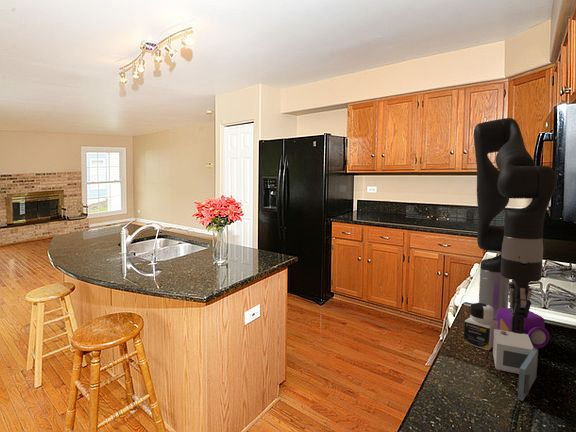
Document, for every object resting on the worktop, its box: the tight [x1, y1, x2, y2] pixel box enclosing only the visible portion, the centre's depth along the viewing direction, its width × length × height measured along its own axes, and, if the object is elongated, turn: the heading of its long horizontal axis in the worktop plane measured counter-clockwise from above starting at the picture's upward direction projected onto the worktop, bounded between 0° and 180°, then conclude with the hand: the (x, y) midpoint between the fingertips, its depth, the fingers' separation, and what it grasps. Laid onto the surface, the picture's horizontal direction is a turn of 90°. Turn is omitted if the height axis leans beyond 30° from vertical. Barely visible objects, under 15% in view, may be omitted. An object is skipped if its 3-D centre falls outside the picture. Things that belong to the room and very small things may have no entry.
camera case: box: [492, 329, 534, 375], centre depth 92 cm, size 10×9×8 cm
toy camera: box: [496, 307, 550, 350], centre depth 103 cm, size 11×14×10 cm
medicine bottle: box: [463, 302, 498, 351], centre depth 104 cm, size 7×7×12 cm
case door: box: [517, 347, 539, 402], centre depth 80 cm, size 2×14×7 cm, turn 134°
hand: (517, 332), depth 77 cm, fingers closed
